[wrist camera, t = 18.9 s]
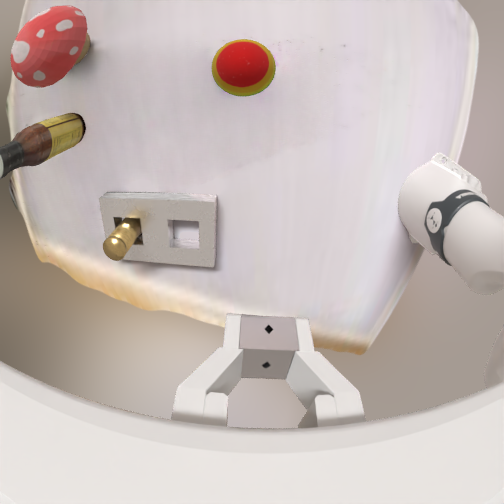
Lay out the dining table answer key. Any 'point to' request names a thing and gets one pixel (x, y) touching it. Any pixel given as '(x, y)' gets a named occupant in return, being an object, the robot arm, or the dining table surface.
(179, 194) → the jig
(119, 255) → the brass cylinder
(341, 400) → the robot arm
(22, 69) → the decorative mushroom
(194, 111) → the dining table surface
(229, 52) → the decorative egg
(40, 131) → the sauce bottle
